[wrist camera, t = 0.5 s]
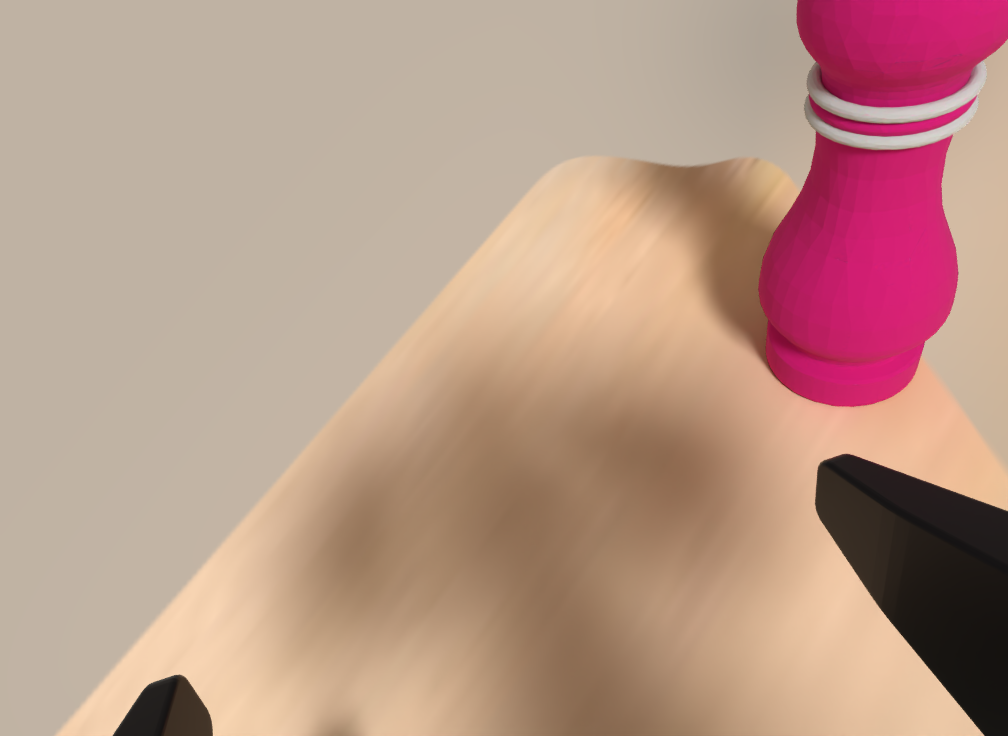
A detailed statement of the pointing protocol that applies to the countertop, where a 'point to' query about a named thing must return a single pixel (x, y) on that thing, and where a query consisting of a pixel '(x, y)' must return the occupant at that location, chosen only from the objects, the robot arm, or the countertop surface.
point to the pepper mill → (874, 193)
